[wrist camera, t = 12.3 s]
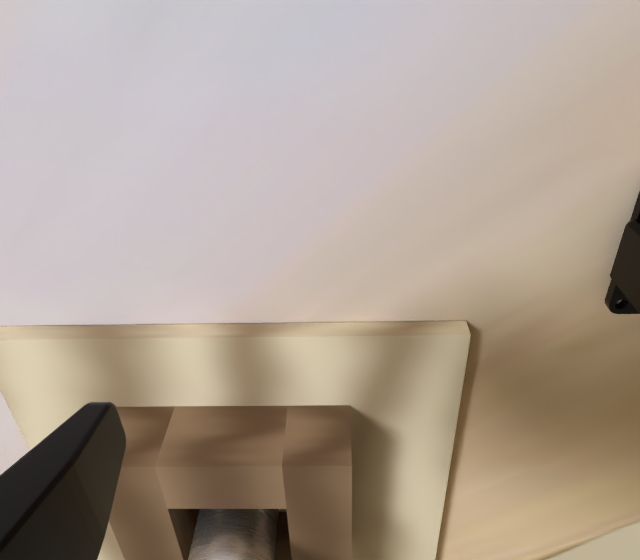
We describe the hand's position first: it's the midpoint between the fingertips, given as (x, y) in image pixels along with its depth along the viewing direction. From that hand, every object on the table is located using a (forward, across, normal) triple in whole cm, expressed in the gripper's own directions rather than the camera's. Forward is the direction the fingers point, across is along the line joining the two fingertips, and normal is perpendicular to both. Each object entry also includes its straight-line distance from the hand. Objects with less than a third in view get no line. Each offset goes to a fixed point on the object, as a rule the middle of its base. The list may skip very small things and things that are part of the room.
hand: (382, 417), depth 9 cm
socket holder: (+13, +6, +18) cm, 23 cm away
